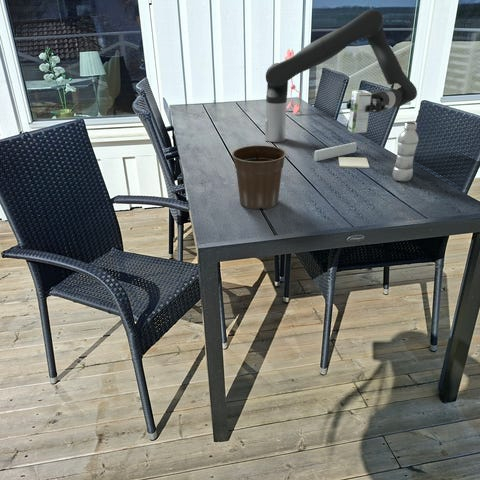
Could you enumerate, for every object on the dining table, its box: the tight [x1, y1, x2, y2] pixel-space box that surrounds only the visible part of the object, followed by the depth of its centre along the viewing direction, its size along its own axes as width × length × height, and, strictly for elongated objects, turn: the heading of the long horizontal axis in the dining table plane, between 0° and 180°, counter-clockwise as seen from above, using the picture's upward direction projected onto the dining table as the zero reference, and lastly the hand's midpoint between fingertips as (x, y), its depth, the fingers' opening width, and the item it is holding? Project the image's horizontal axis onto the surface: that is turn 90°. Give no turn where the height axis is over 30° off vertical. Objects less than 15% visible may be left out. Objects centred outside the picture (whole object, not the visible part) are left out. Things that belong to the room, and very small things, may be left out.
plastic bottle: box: [392, 121, 419, 182], centre depth 145 cm, size 6×7×20 cm
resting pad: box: [337, 156, 370, 169], centre depth 168 cm, size 11×11×1 cm
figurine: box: [284, 48, 304, 118], centre depth 242 cm, size 15×26×35 cm, turn 16°
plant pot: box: [231, 144, 287, 210], centre depth 131 cm, size 16×16×16 cm
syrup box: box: [347, 89, 372, 134], centre depth 158 cm, size 6×6×14 cm
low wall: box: [313, 141, 357, 162], centre depth 175 cm, size 22×1×4 cm, turn 122°
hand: (356, 107), depth 156 cm, fingers closed on syrup box, 7 cm apart
